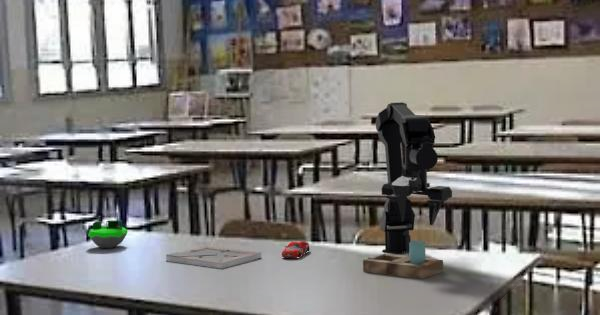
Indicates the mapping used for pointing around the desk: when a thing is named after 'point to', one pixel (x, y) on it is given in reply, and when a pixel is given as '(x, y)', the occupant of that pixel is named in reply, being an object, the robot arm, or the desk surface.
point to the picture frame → (213, 256)
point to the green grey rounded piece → (108, 233)
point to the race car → (295, 249)
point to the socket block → (402, 266)
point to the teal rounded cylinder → (417, 252)
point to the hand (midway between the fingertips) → (416, 223)
